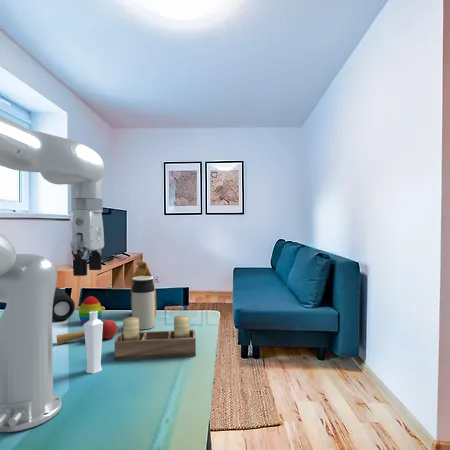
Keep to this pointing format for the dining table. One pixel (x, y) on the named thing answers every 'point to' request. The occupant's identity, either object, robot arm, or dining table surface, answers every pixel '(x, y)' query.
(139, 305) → the travel mug
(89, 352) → the white faceted vase
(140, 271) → the coffee package
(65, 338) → the kendama
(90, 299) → the decorative egg
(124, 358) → the wooden condiment caddy
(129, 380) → the dining table surface
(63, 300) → the portable speaker
